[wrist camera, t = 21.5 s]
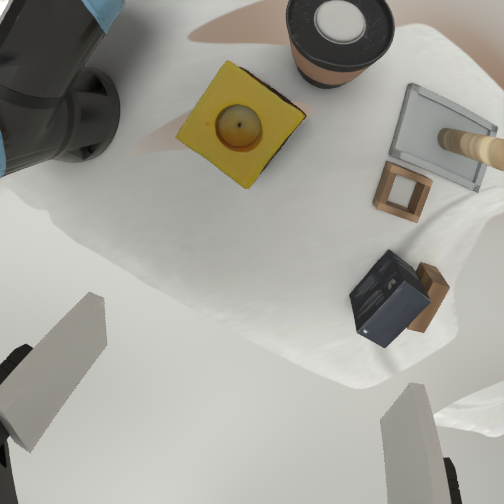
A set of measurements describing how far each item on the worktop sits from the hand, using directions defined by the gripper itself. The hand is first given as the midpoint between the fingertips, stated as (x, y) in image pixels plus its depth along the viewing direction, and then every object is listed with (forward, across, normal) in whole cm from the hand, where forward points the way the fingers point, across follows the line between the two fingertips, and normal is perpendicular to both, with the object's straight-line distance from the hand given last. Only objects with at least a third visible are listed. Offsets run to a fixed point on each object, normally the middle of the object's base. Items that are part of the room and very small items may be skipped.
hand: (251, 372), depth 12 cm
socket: (+33, +14, +4) cm, 36 cm away
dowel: (+32, +18, +13) cm, 39 cm away
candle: (+33, -7, +7) cm, 34 cm away
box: (+33, +17, -10) cm, 38 cm away
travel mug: (+33, 0, +17) cm, 37 cm away
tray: (+33, +18, +13) cm, 40 cm away
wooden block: (+33, +23, -9) cm, 41 cm away
